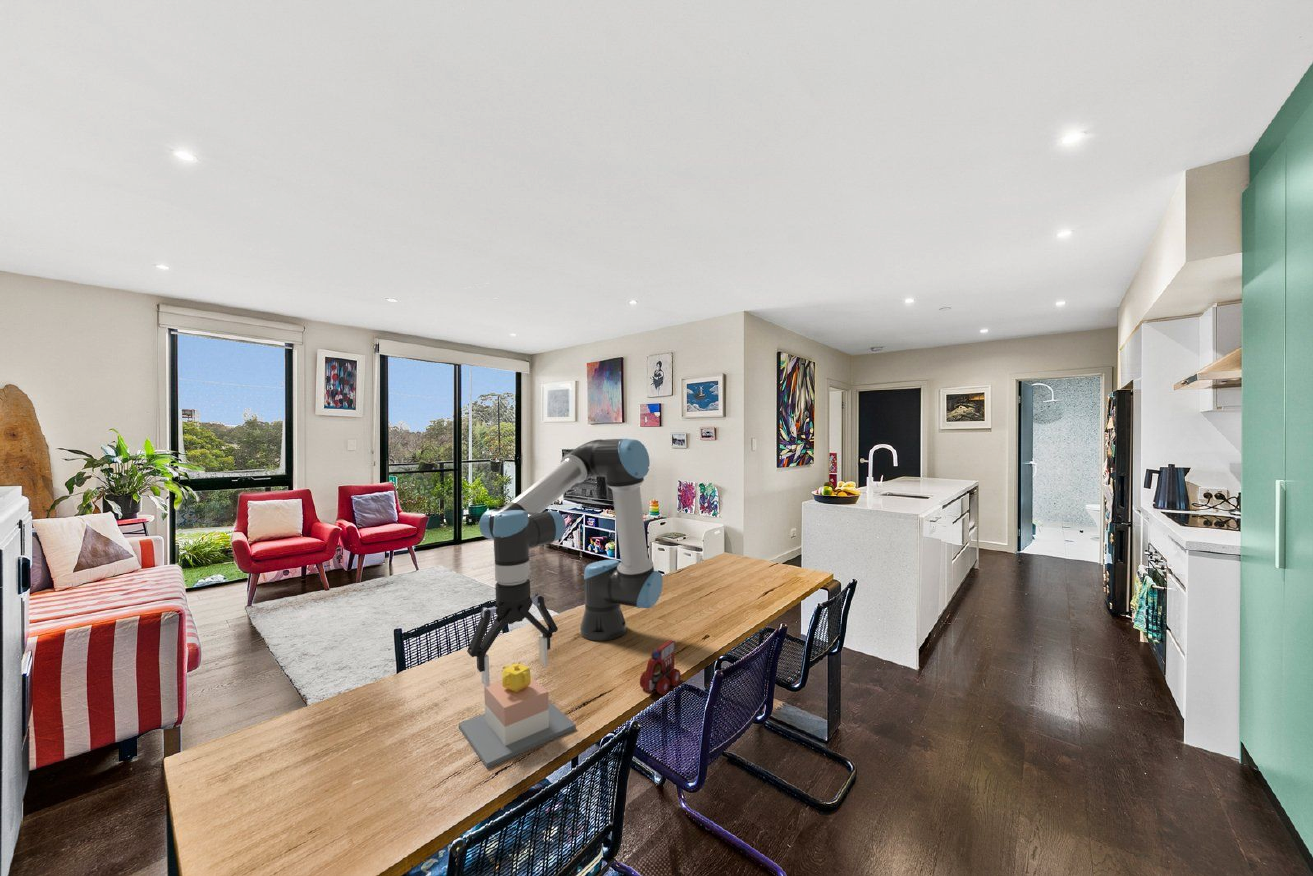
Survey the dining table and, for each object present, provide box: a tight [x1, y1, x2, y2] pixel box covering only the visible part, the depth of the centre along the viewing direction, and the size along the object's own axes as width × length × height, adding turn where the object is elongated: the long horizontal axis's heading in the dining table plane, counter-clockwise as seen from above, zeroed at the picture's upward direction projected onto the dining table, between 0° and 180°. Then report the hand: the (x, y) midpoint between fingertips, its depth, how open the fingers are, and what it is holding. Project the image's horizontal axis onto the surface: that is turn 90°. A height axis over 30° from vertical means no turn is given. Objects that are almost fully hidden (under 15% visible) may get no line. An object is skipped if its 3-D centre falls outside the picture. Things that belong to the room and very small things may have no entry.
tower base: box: [458, 676, 577, 769], centre depth 112 cm, size 20×18×9 cm
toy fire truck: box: [639, 639, 682, 696], centre depth 128 cm, size 7×12×10 cm, turn 144°
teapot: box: [501, 662, 532, 693], centre depth 111 cm, size 8×6×5 cm
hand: (515, 674), depth 112 cm, fingers open, 13 cm apart
